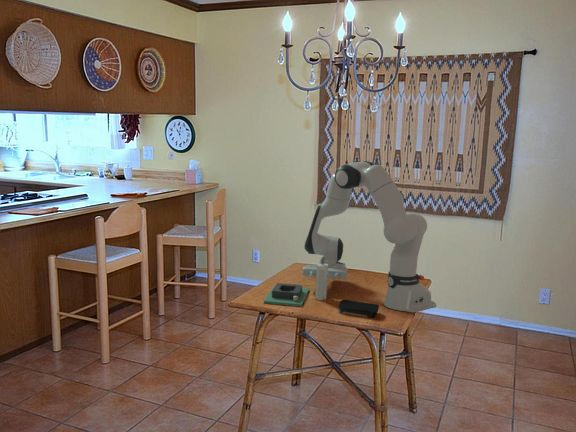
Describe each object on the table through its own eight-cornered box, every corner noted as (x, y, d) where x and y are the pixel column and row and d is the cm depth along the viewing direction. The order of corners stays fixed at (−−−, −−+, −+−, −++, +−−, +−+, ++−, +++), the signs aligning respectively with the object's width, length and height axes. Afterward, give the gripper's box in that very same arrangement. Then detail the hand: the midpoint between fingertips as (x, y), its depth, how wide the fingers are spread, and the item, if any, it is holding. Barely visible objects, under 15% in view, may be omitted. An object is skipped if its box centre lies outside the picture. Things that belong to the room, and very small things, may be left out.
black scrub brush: (379, 313, 213) (380, 304, 213) (375, 320, 205) (375, 311, 205) (341, 307, 219) (341, 298, 219) (335, 313, 211) (335, 305, 211)
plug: (316, 295, 231) (318, 255, 228) (326, 296, 230) (328, 256, 227) (315, 299, 226) (316, 258, 223) (325, 300, 225) (327, 259, 222)
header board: (274, 287, 241) (274, 279, 240) (308, 290, 238) (309, 282, 238) (263, 303, 220) (263, 294, 219) (301, 306, 217) (301, 297, 216)
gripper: (304, 260, 244) (299, 268, 231) (348, 263, 241) (346, 271, 227) (304, 273, 245) (299, 281, 232) (347, 276, 242) (345, 285, 228)
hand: (322, 276), depth 230 cm, fingers open, 8 cm apart
